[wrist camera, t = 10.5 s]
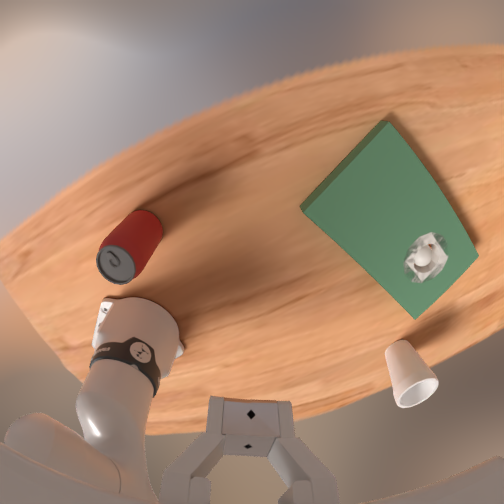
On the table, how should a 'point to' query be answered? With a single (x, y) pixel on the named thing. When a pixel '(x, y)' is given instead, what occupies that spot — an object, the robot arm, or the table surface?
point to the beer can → (129, 247)
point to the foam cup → (409, 374)
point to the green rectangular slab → (392, 219)
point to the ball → (423, 256)
